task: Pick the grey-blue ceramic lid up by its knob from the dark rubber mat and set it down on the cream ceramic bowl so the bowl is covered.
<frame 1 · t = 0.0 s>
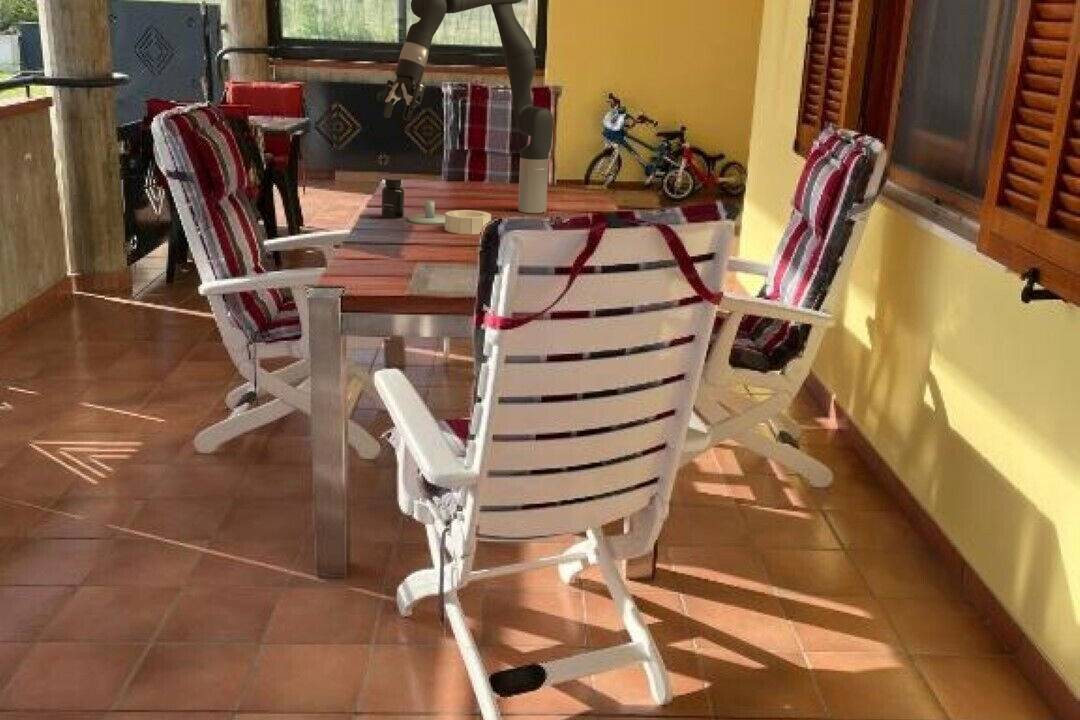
hand: (395, 118, 295), 31 cm above the table, tool tilted 20°, fingers open, 8 cm apart
lid: (429, 220, 318), resting on mat
bowl: (467, 231, 307), on the table
mat: (429, 222, 318), on the table
supplement bottle: (392, 218, 322), on the table
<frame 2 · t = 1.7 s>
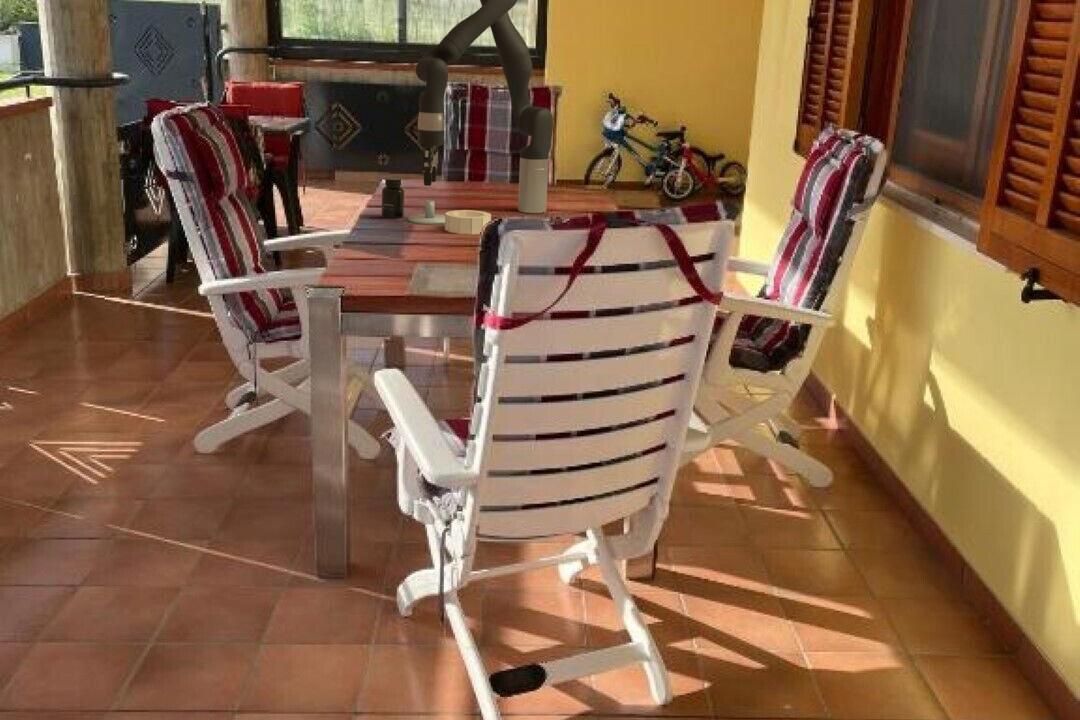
hand: (429, 183, 314), 12 cm above the table, tool pointing down, fingers open, 8 cm apart
nothing on the table moved.
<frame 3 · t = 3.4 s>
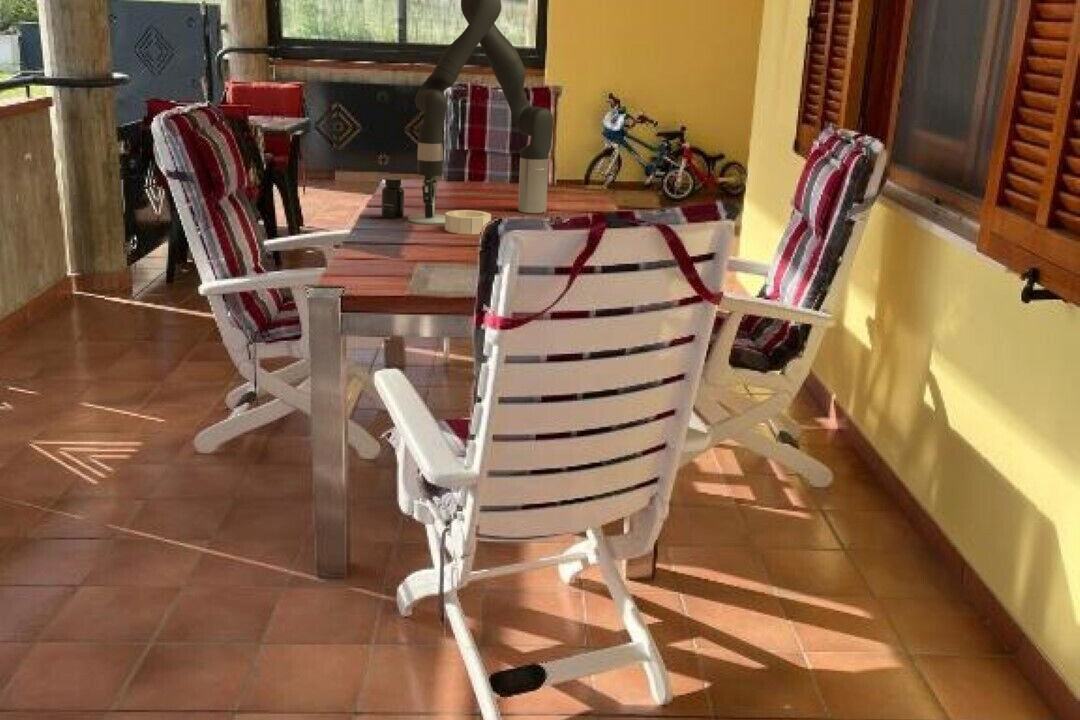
hand: (429, 215, 317), 2 cm above the table, tool pointing down, fingers closed on lid, 2 cm apart
lid: (429, 220, 318), resting on mat, touching gripper
everything else where it was.
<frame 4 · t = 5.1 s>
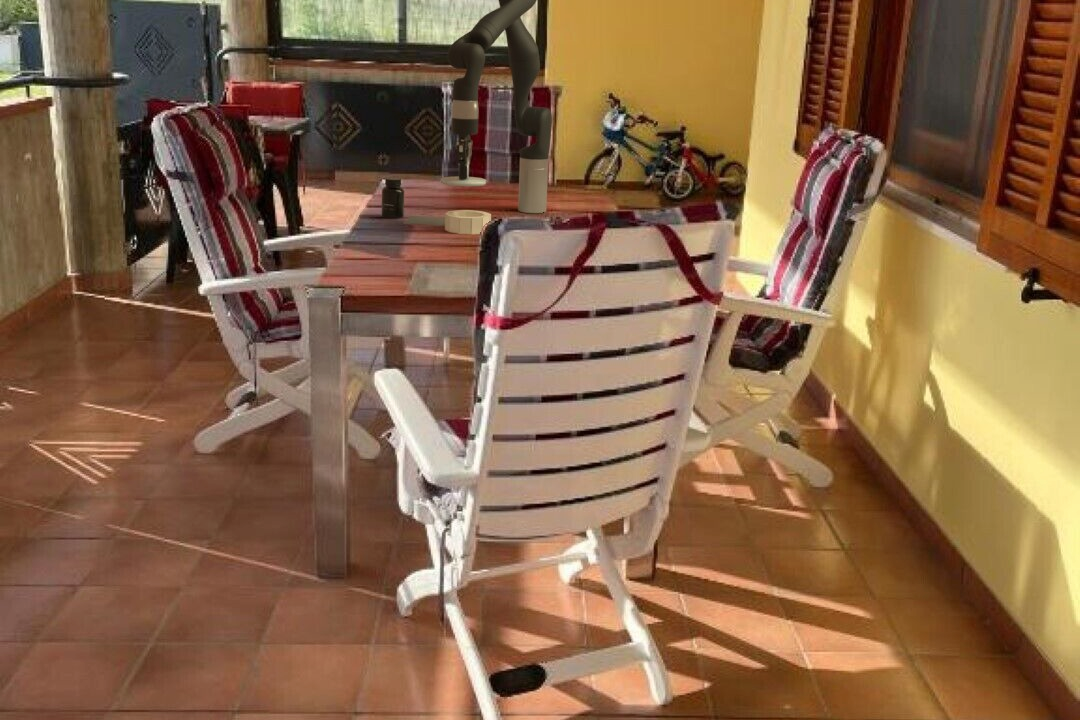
hand: (463, 177, 303), 15 cm above the table, tool pointing down, fingers closed on lid, 2 cm apart
lid: (463, 183, 303), point 14 cm above the table, touching gripper
everything else where it was.
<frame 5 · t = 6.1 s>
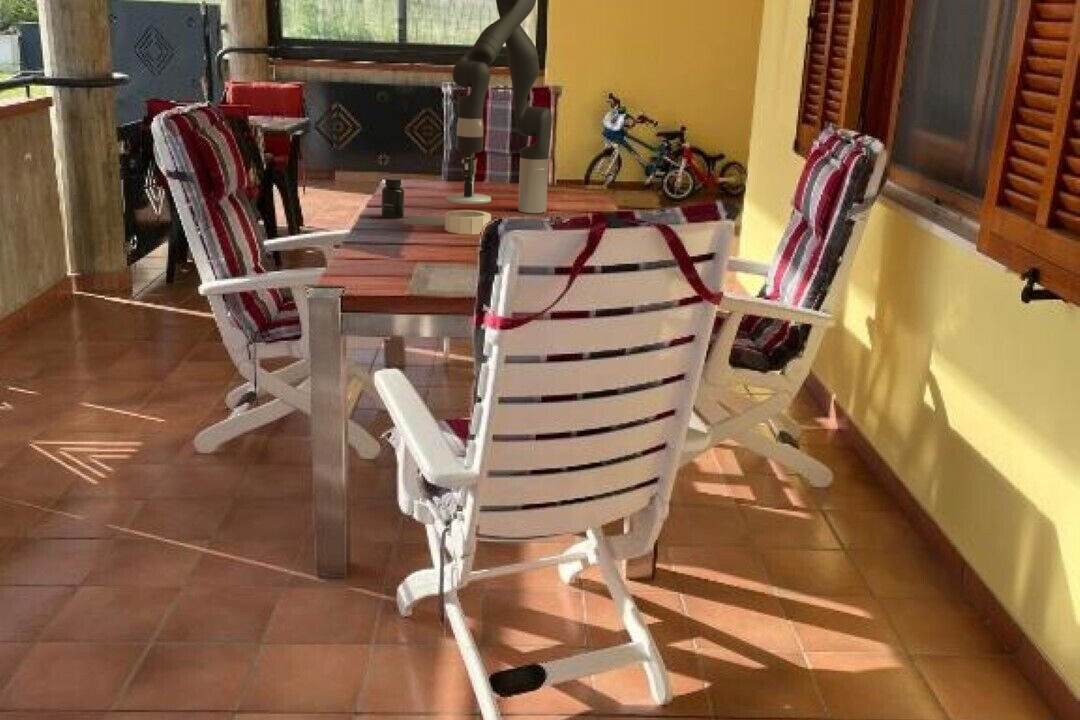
hand: (468, 195, 303), 11 cm above the table, tool pointing down, fingers closed on lid, 2 cm apart
lid: (468, 200, 304), point 9 cm above the table, touching gripper
everything else where it was.
when the fingers open (8 cm above the table, at t = 6.8 s): lid drops 1 cm, resting on bowl.
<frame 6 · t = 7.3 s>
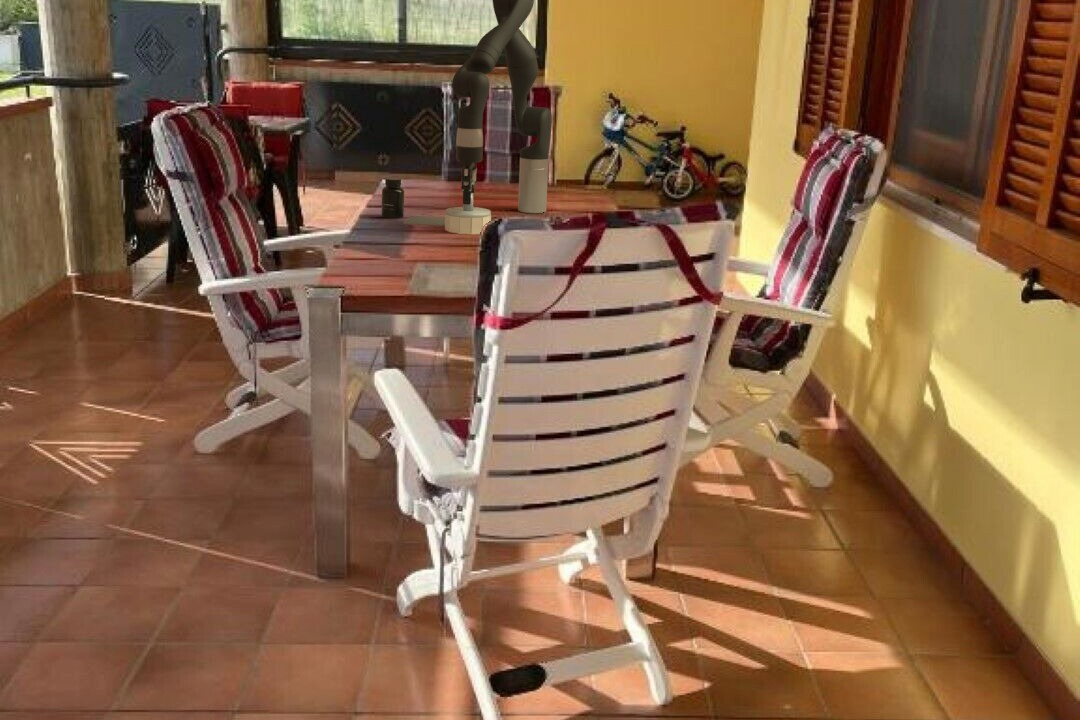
hand: (468, 202, 304), 8 cm above the table, tool pointing down, fingers open, 7 cm apart
lid: (468, 213, 305), point 5 cm above the table, touching bowl
everything else where it was.
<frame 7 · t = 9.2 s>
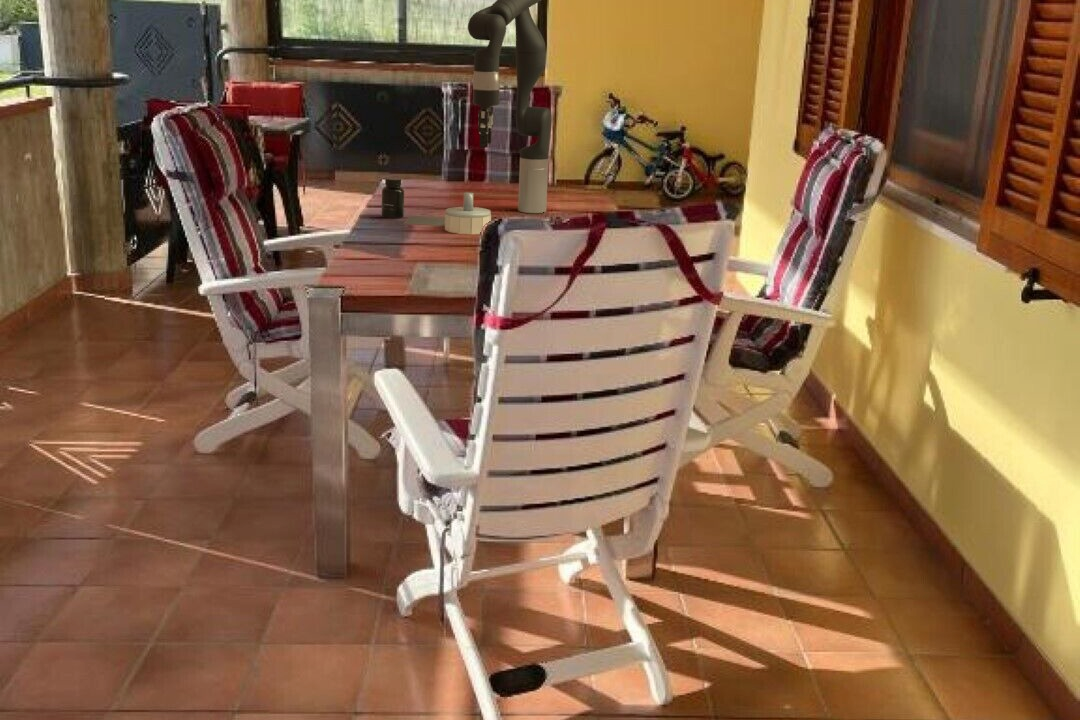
hand: (485, 145, 305), 24 cm above the table, tool pointing down, fingers open, 8 cm apart
nothing on the table moved.
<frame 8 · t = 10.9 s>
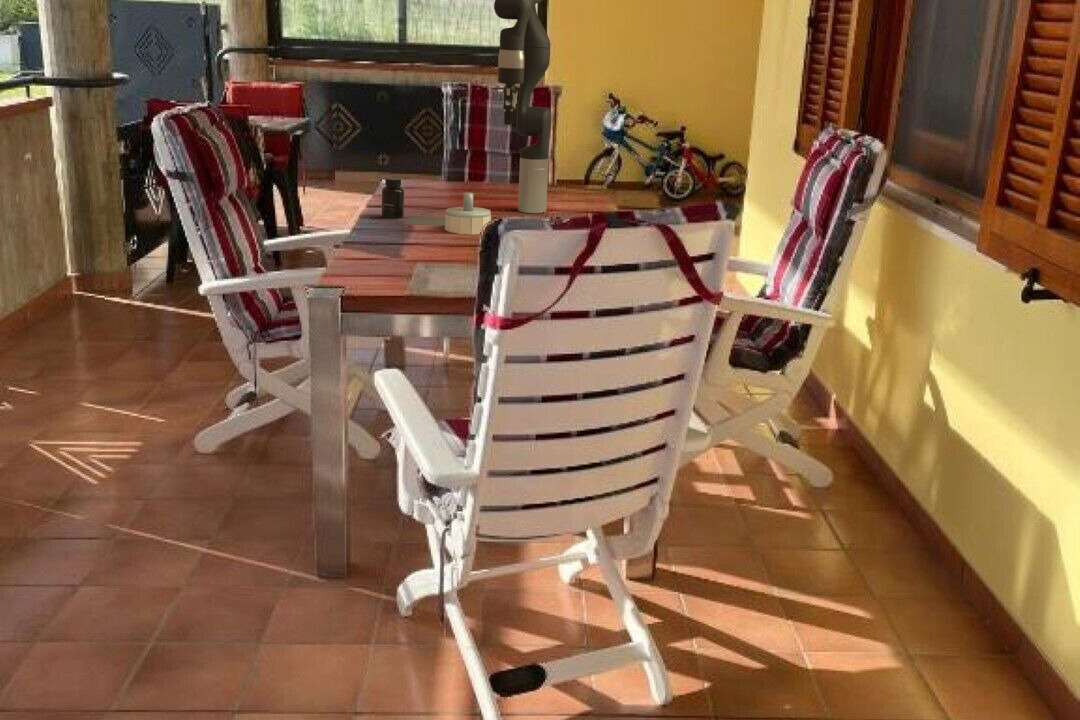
hand: (509, 123, 310), 30 cm above the table, tool pointing down, fingers open, 8 cm apart
nothing on the table moved.
at the end: lid 0.0 cm from the bowl (horizontally); lid 0.0 cm off-centre on the bowl, point 5.0 cm above the bowl's base; lid tilted 0° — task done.
